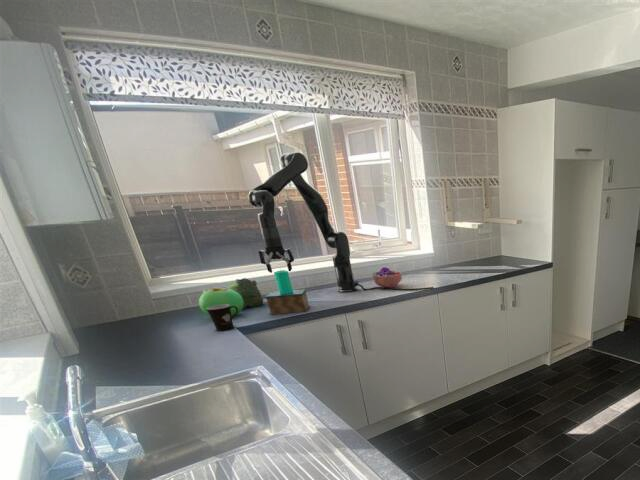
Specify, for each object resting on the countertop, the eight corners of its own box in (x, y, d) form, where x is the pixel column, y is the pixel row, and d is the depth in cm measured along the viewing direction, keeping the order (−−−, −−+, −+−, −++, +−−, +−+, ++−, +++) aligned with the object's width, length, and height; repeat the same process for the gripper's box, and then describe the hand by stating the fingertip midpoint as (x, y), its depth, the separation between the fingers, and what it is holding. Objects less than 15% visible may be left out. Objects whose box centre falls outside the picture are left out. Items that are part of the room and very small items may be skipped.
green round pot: (200, 323, 197) (189, 292, 190) (209, 314, 211) (199, 285, 204) (244, 318, 202) (234, 288, 196) (250, 309, 217) (241, 281, 210)
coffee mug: (215, 333, 183) (208, 310, 178) (212, 328, 189) (204, 307, 184) (245, 327, 189) (239, 305, 185) (241, 323, 195) (235, 302, 191)
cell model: (377, 292, 245) (373, 272, 240) (372, 285, 261) (369, 267, 256) (406, 288, 251) (403, 269, 246) (399, 282, 267) (397, 264, 262)
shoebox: (310, 306, 220) (305, 289, 216) (306, 311, 211) (301, 293, 207) (275, 309, 216) (270, 291, 213) (270, 314, 207) (265, 296, 203)
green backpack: (223, 306, 222) (214, 278, 215) (264, 302, 230) (257, 275, 222) (221, 313, 214) (211, 284, 206) (264, 309, 221) (256, 281, 214)
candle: (284, 294, 206) (277, 269, 201) (277, 293, 209) (270, 268, 204) (295, 292, 211) (289, 267, 205) (288, 290, 213) (282, 266, 208)
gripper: (289, 235, 203) (297, 269, 210) (257, 236, 200) (266, 271, 207) (285, 236, 196) (294, 272, 203) (252, 238, 193) (262, 274, 200)
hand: (280, 271), depth 205 cm, fingers open, 8 cm apart
